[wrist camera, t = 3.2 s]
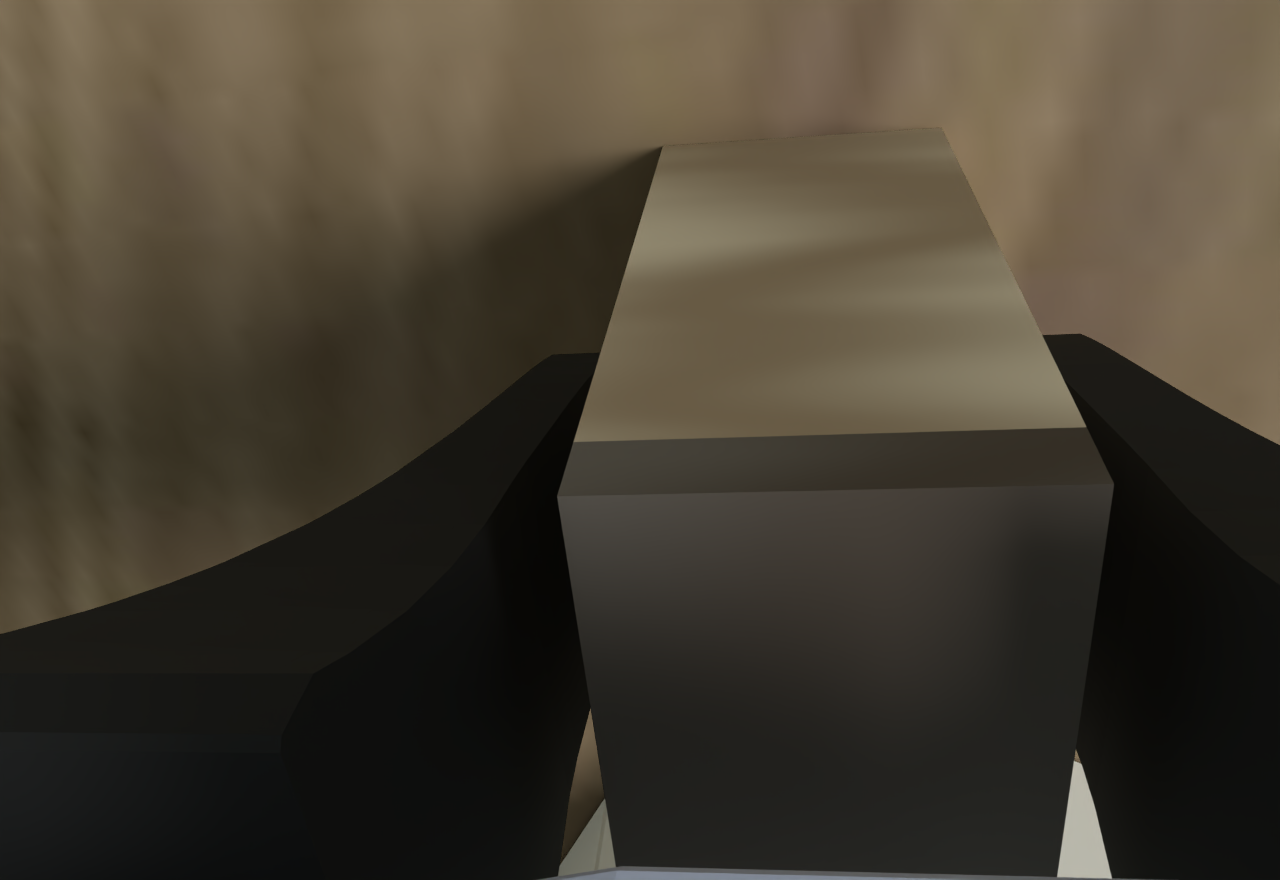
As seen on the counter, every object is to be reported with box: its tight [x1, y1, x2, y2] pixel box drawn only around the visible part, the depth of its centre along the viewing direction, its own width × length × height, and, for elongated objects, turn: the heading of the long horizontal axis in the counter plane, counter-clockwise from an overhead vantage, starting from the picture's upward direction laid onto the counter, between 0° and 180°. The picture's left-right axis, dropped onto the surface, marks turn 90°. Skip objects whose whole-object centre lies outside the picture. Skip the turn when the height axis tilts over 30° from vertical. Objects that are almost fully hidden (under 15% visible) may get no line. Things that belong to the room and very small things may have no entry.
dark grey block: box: [557, 128, 1114, 877], centre depth 10 cm, size 3×5×7 cm, turn 5°
